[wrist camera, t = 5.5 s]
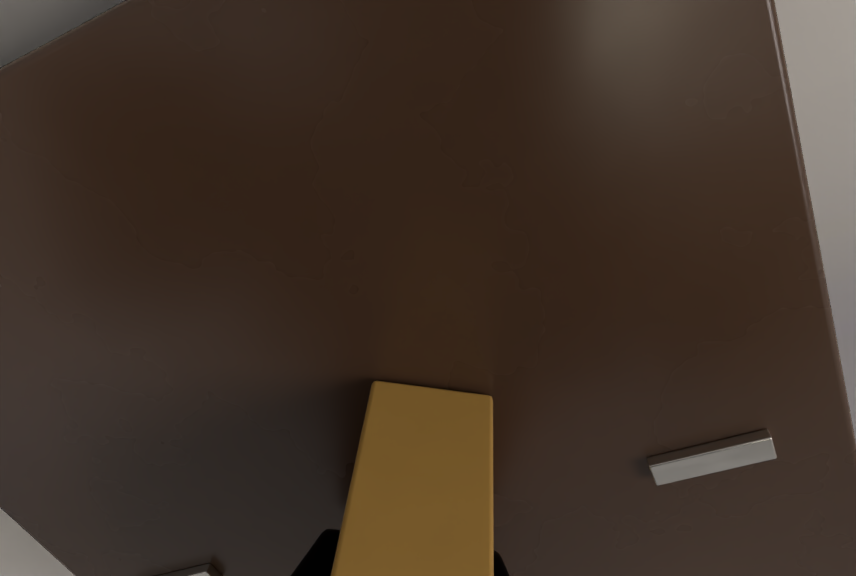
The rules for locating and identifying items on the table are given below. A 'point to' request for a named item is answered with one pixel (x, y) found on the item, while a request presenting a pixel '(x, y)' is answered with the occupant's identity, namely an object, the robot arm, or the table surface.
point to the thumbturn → (420, 486)
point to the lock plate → (418, 281)
